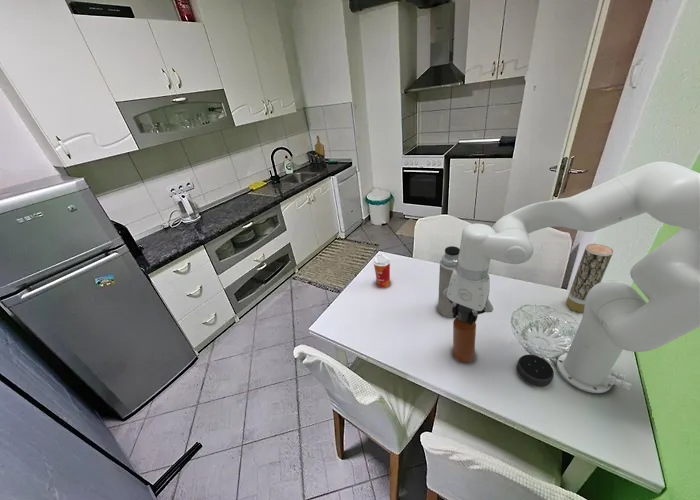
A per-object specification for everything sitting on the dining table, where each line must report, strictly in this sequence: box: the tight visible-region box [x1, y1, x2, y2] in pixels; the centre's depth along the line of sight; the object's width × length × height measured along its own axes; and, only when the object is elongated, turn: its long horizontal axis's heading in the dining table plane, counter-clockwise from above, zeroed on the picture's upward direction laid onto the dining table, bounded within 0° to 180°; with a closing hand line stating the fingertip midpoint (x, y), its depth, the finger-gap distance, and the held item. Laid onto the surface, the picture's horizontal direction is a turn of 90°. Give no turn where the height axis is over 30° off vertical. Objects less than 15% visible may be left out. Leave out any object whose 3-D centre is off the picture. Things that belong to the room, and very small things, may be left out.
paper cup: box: [372, 254, 391, 289], centre depth 124 cm, size 8×8×14 cm
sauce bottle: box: [452, 316, 477, 363], centre depth 86 cm, size 6×6×20 cm
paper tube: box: [565, 243, 614, 313], centre depth 95 cm, size 7×7×25 cm
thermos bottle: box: [437, 245, 460, 318], centre depth 101 cm, size 8×8×28 cm
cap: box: [456, 305, 472, 322], centre depth 82 cm, size 4×4×3 cm
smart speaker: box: [516, 354, 555, 388], centre depth 81 cm, size 9×9×4 cm
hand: (463, 317), depth 83 cm, fingers closed on cap, 4 cm apart
